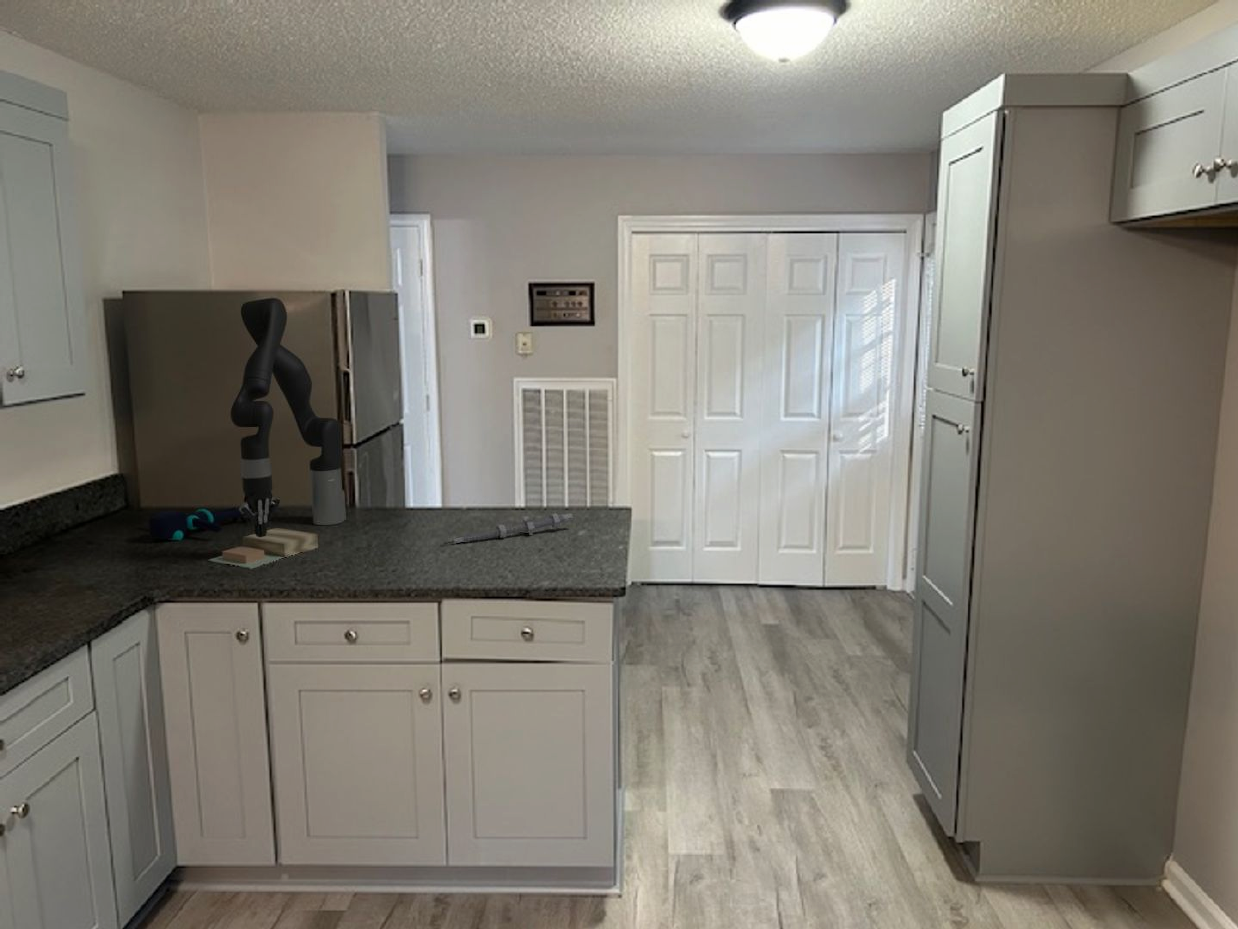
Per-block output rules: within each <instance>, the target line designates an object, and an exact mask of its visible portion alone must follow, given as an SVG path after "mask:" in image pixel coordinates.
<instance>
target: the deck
mask: <svg viewBox="0 0 1238 929" xmlns="http://www.w3.org/2000/svg"><path fill="white" fill-rule="evenodd" d="M318 536H319V535H318V533H313V532H306V531H302V530H301V531H300V530H294V529H293V530H292V529H288V528H280V527H275V528H271V529H268V530H267V533H266V536H264V537H257V536H256V535H255V533H253V534H249V535H246V536H245V535H244V536H242V541H243V543H242V544H243V547H249V548H254V549H260V550H264V554H268V555H274V556H280V557H284V559H285V557H287V558H290V557H292V556H291V555H293V556H296V555H295V554H297V555H299V554H298V553H300V552H303V553H306V552H309V551H311V550H312V551H313V550H315V548H316V549H318V548H319V541H318V540H319V539H318V538H319V537H318ZM300 554H301V553H300ZM289 556H290V557H289Z"/></svg>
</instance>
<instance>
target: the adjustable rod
mask: <svg viewBox="0 0 1238 929" xmlns="http://www.w3.org/2000/svg"><path fill="white" fill-rule="evenodd" d="M522 517H523V523H520V524H514V525H513V524H512V525H510V526H509V525H508V526H506V525H504V524H498V525H495V529H490V530H486V531H480V532H476V533H471V534H465V535H462V536H461V537H457V538H453V539H452V541H447V542H441V543H440V546H441V545H442V544H444V545H449V544H448V543H450V544H454V543H459V542H467V543H468V541H473V540H474V541H473V542H476V541H475V540H477V541H483V540H487V538H488V539H492V538H496V537H498V536H499V537H501V538H502V537H506V538H507V535H511V534H517V533H519V532H524V533H525V532H526V533H532V532H533V533H534V532H535V529H540V528H543V527H549V526H551V528H554V529H555V528H560V525H561V524H562V523H568V522H573V521H574V520H573V519H574V518H573V513H566V514H560V515H558V514H557V512H555V513H552V514H549V516H548V517H547V518H543V519H538V520H533V518H530V517H529V516H528V515H527V516H526V515H525V516H522ZM499 537H498V538H499ZM453 542H454V543H453ZM442 546H443V545H442Z"/></svg>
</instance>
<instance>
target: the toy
mask: <svg viewBox="0 0 1238 929" xmlns="http://www.w3.org/2000/svg"><path fill="white" fill-rule="evenodd" d="M239 518H240V520H241V522H242V523H243V522H244V523H245V524H246V523H248V522H247V521H246V519H245V518H244V517H243V516H242V515H241V514H240V513H239V511H238V510H237V508H236V507H230V508H229V507H228V508H223V509H214V510H207V509H205V508H201V509H200V508H199V509H197V510H196V511H195V512H190V513H188V512H187V513H185V512H184V511H180V510H175V509H171V510H166V511H162V512H158V513H153V514H152V515H151V516H150V518H149V520H148V531H149V535H150V536H151V537H153V538H154V539H160V540H167V539H168V541H173V540H179V541H181V540H183V538H184V537H186V536H187V535H188V529H189V530H193V531H194V530H196V529H202V530H203V529H204V530H208V531H212V532H214V533H219V532H220V531H222V529H223V527H222V525H221V524H220V523H217V522H222V521H226V520H231V519H232V520H233V522H238V519H239ZM244 523H243V524H244Z"/></svg>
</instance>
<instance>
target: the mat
mask: <svg viewBox="0 0 1238 929" xmlns="http://www.w3.org/2000/svg"><path fill="white" fill-rule="evenodd" d="M281 558H284V557H280V556H274V555H268V554H264V558H263V559H260V560H257V561H253V562H250V563H247V564H245V563H240V562H235V561H229V560H224V559H223V555H219V556H216V557H214V558H210V559H209V558H208V562H210V561H211V563H216V564H217V563H218V564H221V565H226V564H230V565H229V566H232V565H235V566H234V567H237V566H239V567H238V568H243V569H248V570H249V569H250V570H252V569H254V568H258V567H261V565H262V566H264V565H263V564H265V565H268V564H271V563H273V561H274V562H277V561H280V560H279V559H281ZM284 559H285V558H284ZM276 560H277V561H276ZM281 560H282V559H281ZM270 562H271V563H270Z"/></svg>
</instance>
